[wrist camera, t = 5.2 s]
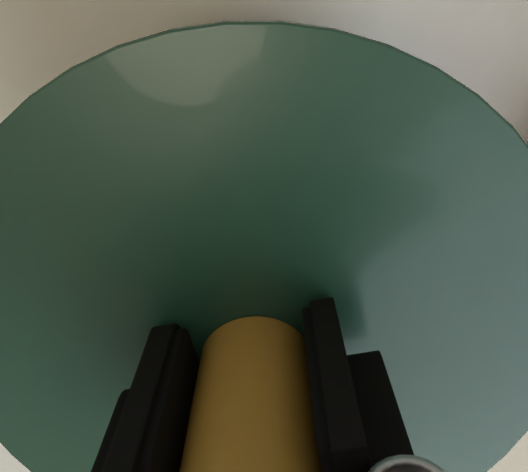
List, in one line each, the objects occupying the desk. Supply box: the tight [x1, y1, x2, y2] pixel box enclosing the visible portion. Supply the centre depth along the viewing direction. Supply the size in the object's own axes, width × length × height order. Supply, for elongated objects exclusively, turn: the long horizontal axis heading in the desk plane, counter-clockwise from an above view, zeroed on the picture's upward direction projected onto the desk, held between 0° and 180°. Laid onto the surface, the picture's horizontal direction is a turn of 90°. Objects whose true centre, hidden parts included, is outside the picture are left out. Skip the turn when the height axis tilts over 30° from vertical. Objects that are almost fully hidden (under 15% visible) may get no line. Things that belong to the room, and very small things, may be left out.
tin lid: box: [0, 21, 528, 472], centre depth 9 cm, size 14×14×6 cm
